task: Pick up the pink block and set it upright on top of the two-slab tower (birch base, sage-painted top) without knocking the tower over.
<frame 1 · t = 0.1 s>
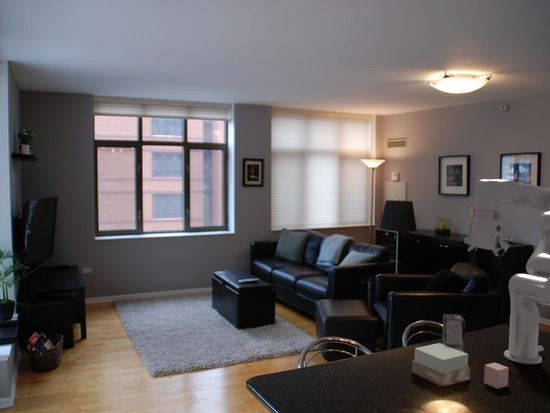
hand: (484, 265, 167), 37 cm above the kitchen counter, tool pointing down, fingers open, 9 cm apart
tower base: (440, 377, 163), on the kitchen counter
coffee box: (452, 361, 177), on the kitchen counter
pink block: (495, 384, 157), on the kitchen counter
tower top: (440, 364, 162), point 4 cm above the kitchen counter
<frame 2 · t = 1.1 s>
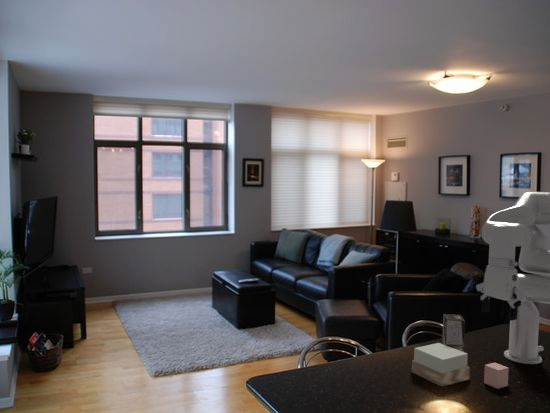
hand: (498, 316, 155), 22 cm above the kitchen counter, tool pointing down, fingers open, 9 cm apart
tower base: (439, 376, 163), on the kitchen counter, touching tower top
tower top: (440, 364, 162), point 4 cm above the kitchen counter, touching tower base
everything else where it was.
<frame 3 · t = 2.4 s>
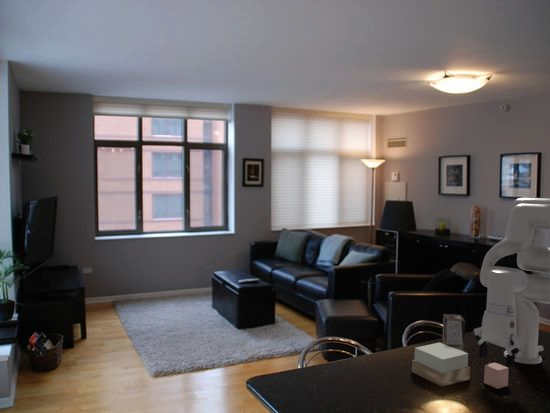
hand: (496, 361, 156), 8 cm above the kitchen counter, tool pointing down, fingers open, 9 cm apart
nothing on the kitchen counter moved.
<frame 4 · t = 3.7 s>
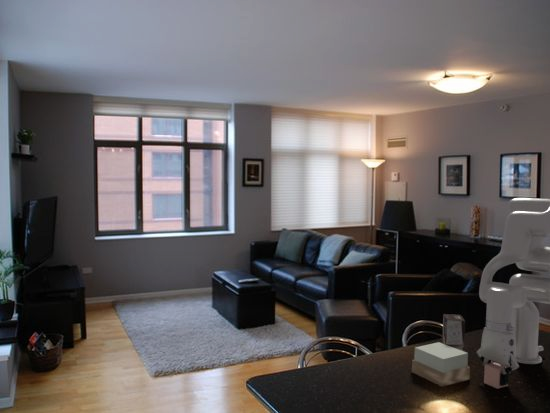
hand: (495, 381, 156), 1 cm above the kitchen counter, tool pointing down, fingers closed on pink block, 5 cm apart
tower base: (440, 376, 163), on the kitchen counter
pink block: (495, 384, 157), on the kitchen counter, touching gripper
tower top: (440, 363, 163), point 4 cm above the kitchen counter
everything else where it was.
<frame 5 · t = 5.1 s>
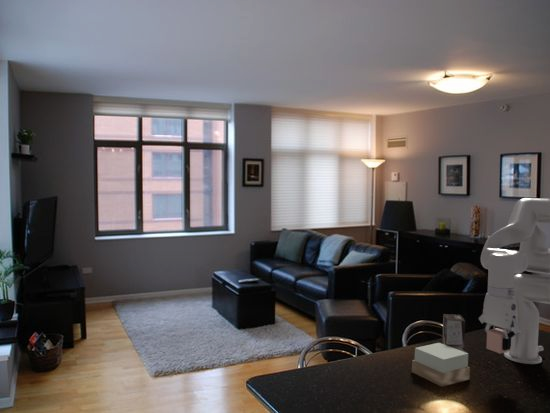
hand: (498, 346, 157), 12 cm above the kitchen counter, tool pointing down, fingers closed on pink block, 5 cm apart
tower base: (440, 376, 163), on the kitchen counter, touching tower top
pink block: (498, 349, 157), point 11 cm above the kitchen counter, touching gripper
tower top: (440, 363, 162), point 4 cm above the kitchen counter, touching tower base
everything else where it was.
when the fingers open (11 cm above the kitchen counter, at t = 10.2 s): pink block drops 1 cm, resting on tower top.
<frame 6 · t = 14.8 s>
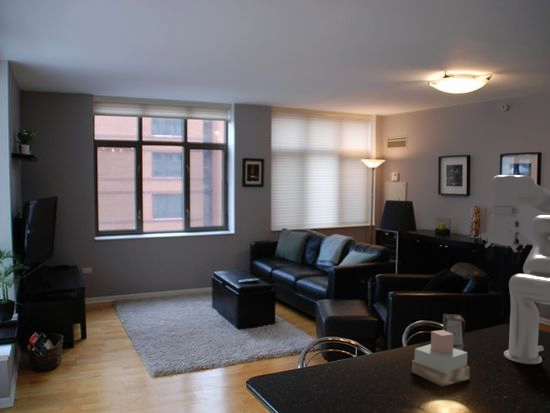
hand: (502, 261, 165), 38 cm above the kitchen counter, tool pointing down, fingers open, 9 cm apart
pink block: (441, 350, 162), point 9 cm above the kitchen counter, touching tower top
tower top: (440, 363, 163), point 4 cm above the kitchen counter, touching pink block, tower base
everything else where it was.
at the end: pink block 0.2 cm off-centre on the tower top, point 4.5 cm above the tower top's base; tower top 0.1 cm off-centre on the tower base, point 4.5 cm above the tower base's base; pink block tilted 0° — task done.
